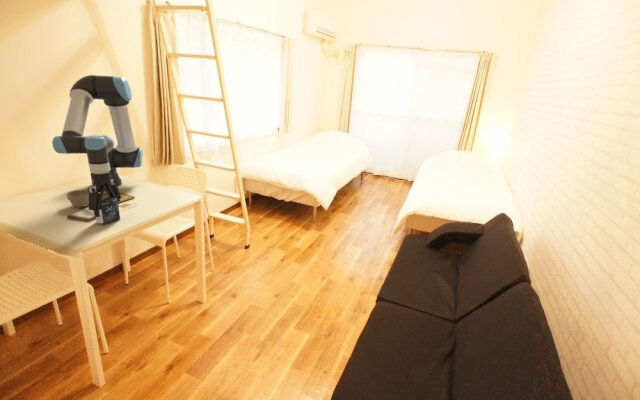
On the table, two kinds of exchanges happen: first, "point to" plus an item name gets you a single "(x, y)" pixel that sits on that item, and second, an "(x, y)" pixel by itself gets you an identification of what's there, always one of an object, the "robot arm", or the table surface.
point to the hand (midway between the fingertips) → (108, 218)
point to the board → (83, 215)
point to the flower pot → (78, 197)
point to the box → (109, 209)
